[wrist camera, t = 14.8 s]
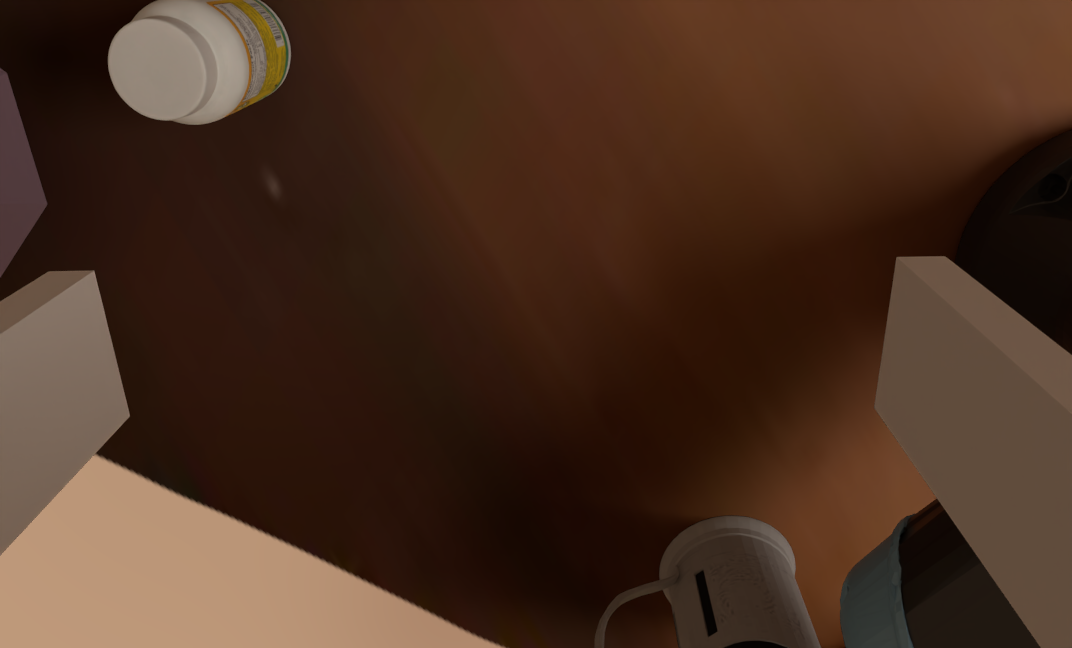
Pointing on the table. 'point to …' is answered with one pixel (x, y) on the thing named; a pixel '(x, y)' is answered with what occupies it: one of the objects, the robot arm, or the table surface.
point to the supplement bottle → (199, 58)
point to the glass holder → (729, 588)
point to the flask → (15, 179)
